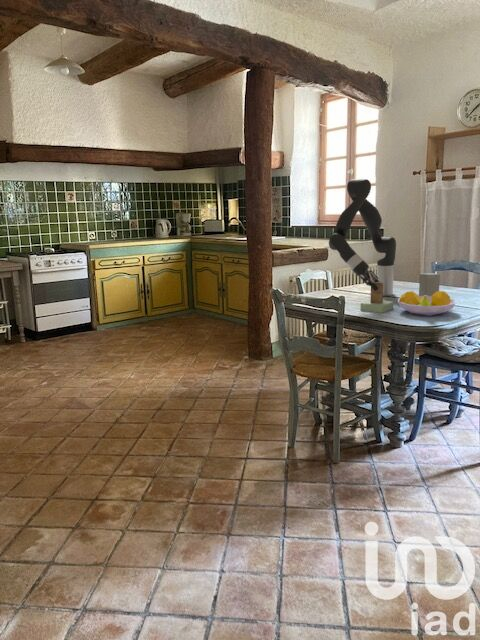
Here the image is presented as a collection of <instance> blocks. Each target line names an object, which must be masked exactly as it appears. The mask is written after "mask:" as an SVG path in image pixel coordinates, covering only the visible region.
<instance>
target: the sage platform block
mask: <svg viewBox="0 0 480 640" xmlns="http://www.w3.org/2000/svg"><path fill="white" fill-rule="evenodd" d="M370 300H371V299H369V300H366V301H363V302H360V311H365V312H375V313H386V312H388V311H390V310H392V309H394V301H390V300H383V302H382V303H370Z"/></svg>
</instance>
